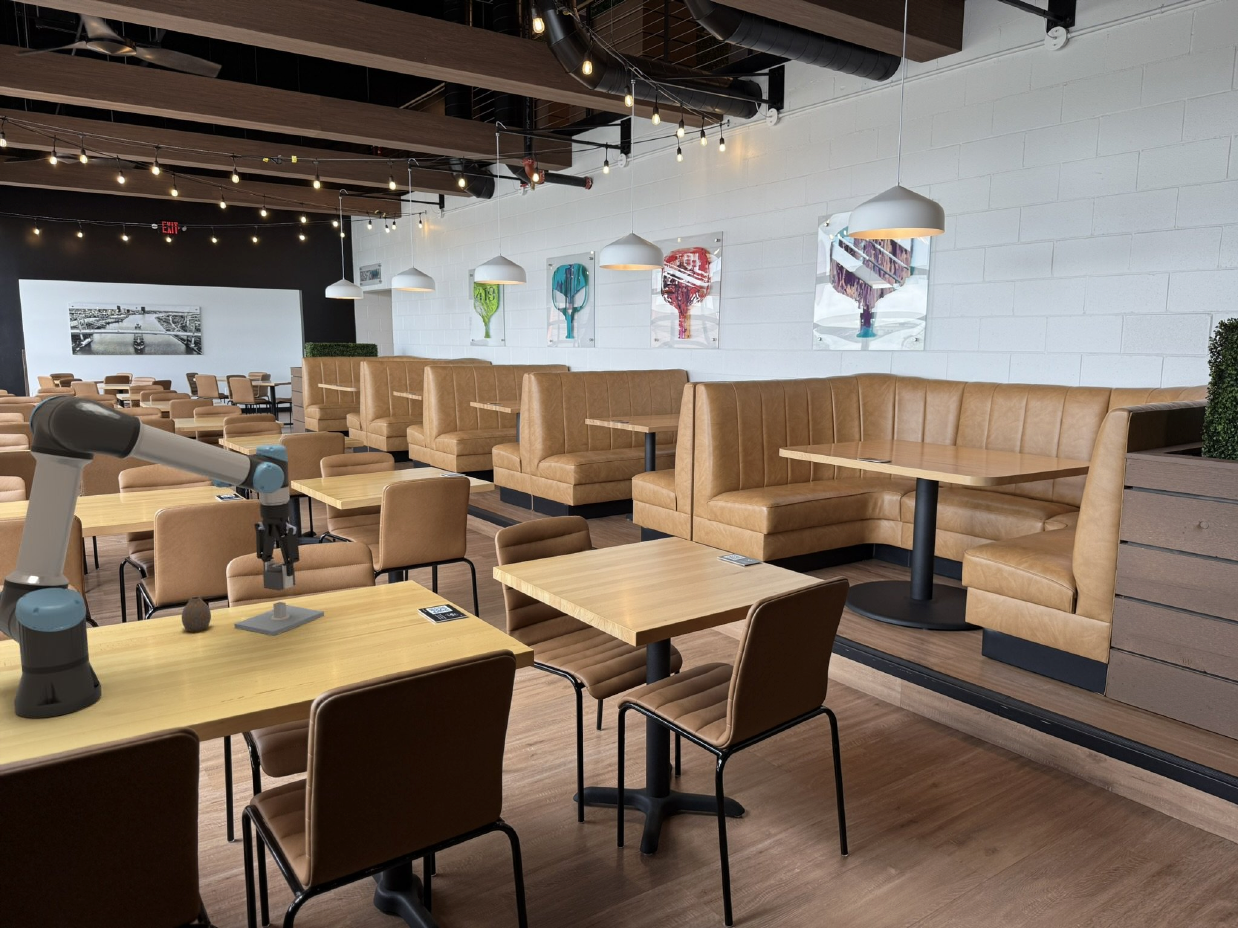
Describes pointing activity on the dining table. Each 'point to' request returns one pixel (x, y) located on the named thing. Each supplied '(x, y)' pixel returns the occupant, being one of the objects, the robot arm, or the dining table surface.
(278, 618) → the gray rectangular base plate
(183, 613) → the vase
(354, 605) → the dining table surface
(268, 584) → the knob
